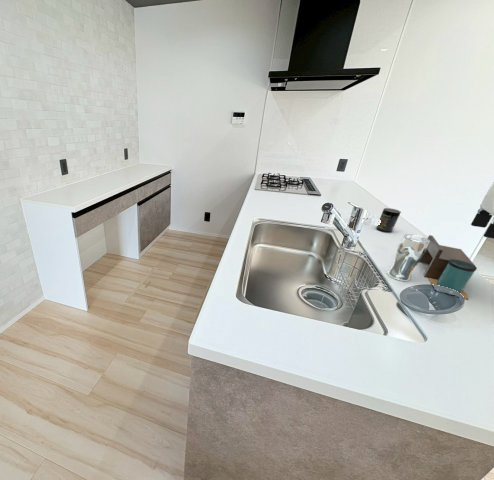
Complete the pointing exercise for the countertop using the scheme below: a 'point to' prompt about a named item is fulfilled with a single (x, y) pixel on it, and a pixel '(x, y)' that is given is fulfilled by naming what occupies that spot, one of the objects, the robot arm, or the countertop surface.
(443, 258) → the shelf
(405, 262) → the beer glass
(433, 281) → the cork mat
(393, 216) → the supplement container
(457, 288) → the spice tin
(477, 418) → the countertop surface
